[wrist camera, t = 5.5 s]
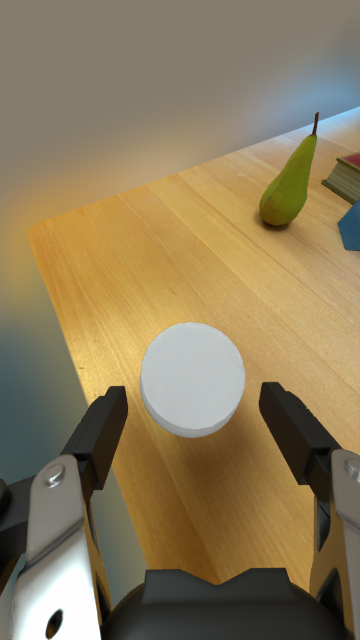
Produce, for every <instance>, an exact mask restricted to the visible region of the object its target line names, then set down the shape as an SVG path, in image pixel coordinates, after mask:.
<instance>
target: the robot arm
mask: <svg viewBox="0 0 360 640" xmlns="http://www.w3.org/2000/svg"><path fill="white" fill-rule="evenodd" d="M259 409H260V413H261V415H262V417H263V419H264V421H265V422H266V424H267V426H268V428H269V430H270V432H271V434H272V436H273V438H274V439H275V441H276V443H277V445H278V447H279V449H280V451H281V453H282V455H283V456H284V458H285V460H286V462H287V464H288V466H289V468H290V470H291V472H292V473H293V475H294V477H295V479H296V481H297V483H298V485H309V486H310V488H311V489H312V491H313V493H314V495H315V496H314V553H313V563H312V568H311V574H310V586H309V593H308V592H306V591H305V590H304V589H302V588H300V587H299V586H297V585H295V584H294V583H291V582H290V580H289V577H288V574H287V571H286V568H250V569H249V570H247V571H245V572H243V573H241V574H239V575H237V576H235V577H234V578H232V579H230V580H228V581H226V582H224V583H222V584H220V585H214V584H211V583H209V582H207V581H205V580H203V579H200V578H198V577H196V576H194V575H192V574H189V573H187V572H185V571H183V570H180V569H163V570H146V574H145V582H144V583H142V584H140V585H138V586H137V587H136V588H134V589H133V590H132V591H130V592H129V593H128V594H127V595H126V596H125V597H124V598H123V599H122V600H121V601H120V602H119V603H118V604H117V606H116V607H115V608H114V609H113V604H112V599H111V594H110V589H109V585H108V580H107V576H106V572H105V568H104V564H103V560H102V556H101V551H100V545H99V540H98V535H97V530H96V524H95V519H94V514H93V508H92V503H91V500H90V499H91V496H92V494H93V491H94V490H103V487H104V484H105V481H106V478H107V475H108V472H109V469H110V466H111V463H112V460H113V457H114V455H115V452H116V449H117V446H118V443H119V440H120V437H121V434H122V431H123V428H124V425H125V422H126V419H127V415H128V403H127V397H126V391H125V387H124V386H110V387H109V388H108V390H107V392H106V394H105V396H99V397H98V398H97V399H96V400H95V401H94V402H93V403H92V404H91V405H90V407H89V408H88V410H87V412H86V414H85V415H84V417H83V418H82V420H81V422H80V423H79V425H78V426H77V428H76V430H75V431H74V433H73V434H72V436H71V438H70V439H69V441H68V443H67V444H66V446H65V447H64V449H63V451H62V452H61V454H60V455H59V456H58V457H57V458H54V459H53V460H51V461H50V462H49V463H47V464H46V465H45V466H44V467H43V468H42V469H41V470H40V471H39V473H38V474H37V475H35V476H32V477H29V478H27V479H24V480H21V481H18V482H15V483H13V484H10V485H6V483H5V482H4V480H2V479H0V595H1V593H2V592H3V590H4V588H5V586H6V584H7V582H8V580H9V578H10V576H11V573H12V572H13V570H14V568H15V566H16V564H17V562H18V560H19V558H20V556H21V554H23V553H25V552H26V561H25V565H24V568H23V569H22V570H21V571H20V572H19V574H18V576H17V579H16V583H15V588H14V596H13V605H12V615H11V625H10V636H9V640H360V456H359V455H357V454H355V453H353V452H351V451H348V450H344V449H343V448H342V447H341V446H340V445H339V444H338V443H337V442H336V440H335V439H334V438H333V437H332V436H331V435H330V433H329V432H328V431H327V430H326V429H325V428H324V427H323V425H322V424H321V423H320V422H319V421H318V420H317V418H316V417H315V416H313V414H312V413H311V412H310V410H309V409H307V407H306V406H305V405H304V403H303V402H302V401H301V400H300V399H299V398H298V397H296V396H295V395H294V394H292V393H291V392H289V391H285V390H284V388H283V387H282V386H281V385H280V384H279V383H278V382H263V383H262V386H261V392H260V398H259Z"/></svg>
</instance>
